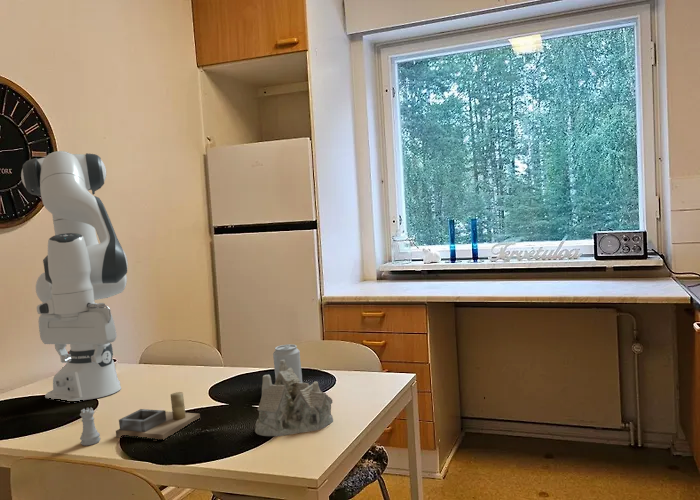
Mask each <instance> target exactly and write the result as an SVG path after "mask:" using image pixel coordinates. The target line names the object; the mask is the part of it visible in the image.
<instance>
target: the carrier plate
mask: <svg viewBox="0 0 700 500" xmlns="http://www.w3.org/2000/svg"><path fill="white" fill-rule="evenodd" d="M184 397H185V396H184V393H183V392H182V391H179V392H178V391H177V392H176V391H175V392H173V393H171V394H170V401H171V402H170V403H171V411H166V410H164V409H163V410H162V409H149V408H148V409H146V408H140V409H138V410H136V411H134V412H131V413H130V414H128V415H125V416H124V417H122V418H120V419H118V425H119V429H117V430H115V436H116V438H122V437H121V436H122V435H129V436H138V437H147V438H155V439H163V440H164V439H165V438H167V437H168V436H170V435H172V434H174V433H175V432H177V431H179V430H180V429H182V428H184V427H185V426H187V425H188V424H190V423H191V422H193V421H195V420H197V419H199V418H200V419H201V414H200V413H196V412H186V410H185V409H186V408H185V407H186V406H185V398H184Z"/></svg>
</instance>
